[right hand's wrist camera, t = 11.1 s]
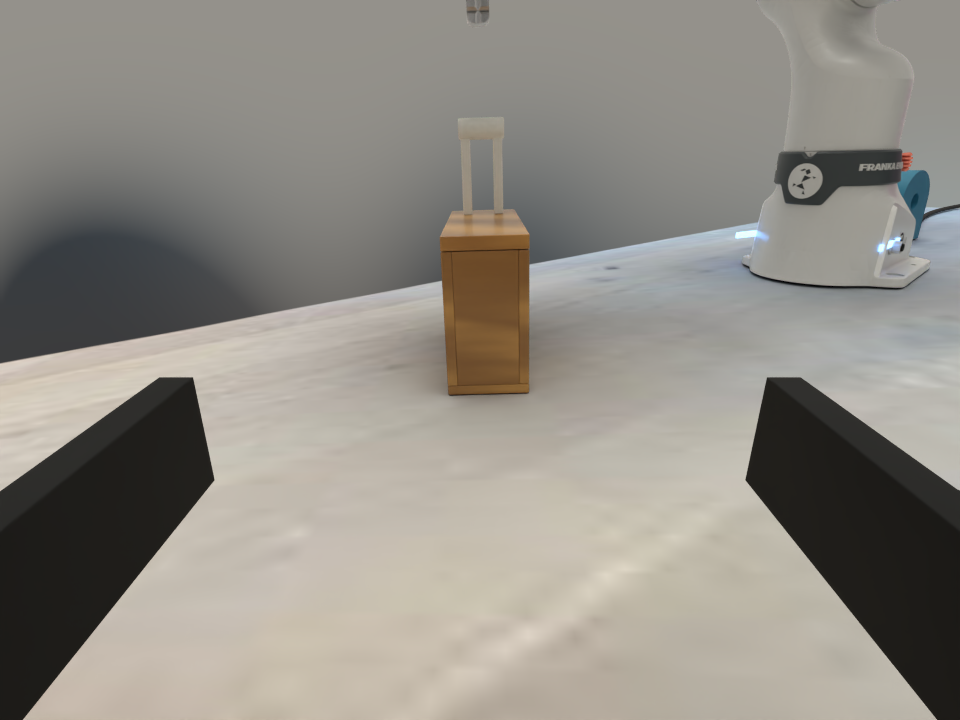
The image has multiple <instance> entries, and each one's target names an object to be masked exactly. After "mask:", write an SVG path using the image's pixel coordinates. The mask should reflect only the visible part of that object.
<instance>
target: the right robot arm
mask: <svg viewBox="0 0 960 720" xmlns="http://www.w3.org/2000/svg"><path fill="white" fill-rule="evenodd" d="M213 481H214V475H213V470H212V466H211V461H210V456H209V451H208V447H207V442H206V437H205V432H204V428H203V423H202V418H201V413H200V409H199V404H198V399H197V394H196V390H195V385H194V380H193V378H158V379H157V380H155V381H154V382H152V383H151V384H150V385H148V386H147V387H145V388H144V389H143V390H141V391H140V392H138V393H137V394H136V395H134V396H133V397H131V398H130V399H129V400H127V401H126V402H124V403H123V404H122V405H120V406H119V407H118V408H116V409H115V410H113V411H112V412H111V413H109V414H108V415H106V416H105V417H104V418H102V419H101V420H99V421H98V422H97V423H95V424H94V425H92V426H91V427H90V428H88V429H87V430H85V431H84V432H83V433H81V434H80V435H78V436H77V437H76V438H74V439H73V440H71V441H70V442H69V443H67V444H66V445H64V446H63V447H62V448H60V449H59V450H57V451H56V452H55V453H53V454H52V455H50V456H49V457H48V458H46V459H45V460H43V461H42V462H41V463H39V464H38V465H36V466H35V467H34V468H32V469H31V470H29V471H28V472H27V473H25V474H24V475H22V476H21V477H20V478H18V479H17V480H15V481H14V482H13V483H11V484H10V485H8V486H7V487H6V488H4V489H3V490H1V491H0V720H23V719H24V718H25V716H26V715H27V714H28V713H29V711H30V710H31V709H32V708H33V706H34V705H35V704H36V703H37V701H38V700H39V699H40V698H41V696H42V695H43V694H44V693H45V691H46V690H47V689H48V688H49V686H50V685H51V684H52V683H53V681H54V680H55V679H56V678H57V676H58V675H59V674H60V673H61V671H62V670H63V669H64V668H65V666H66V665H67V664H68V663H69V661H70V660H71V659H72V658H73V656H74V655H75V654H76V653H77V651H78V650H79V649H80V648H81V646H82V645H83V644H84V643H85V641H86V640H87V639H88V638H89V636H90V635H91V634H92V633H93V631H94V630H95V629H96V628H97V626H98V625H99V624H100V623H101V621H102V620H103V619H104V618H105V616H106V615H107V614H108V613H109V611H110V610H111V609H112V608H113V606H114V605H115V604H116V603H117V601H118V600H119V599H120V598H121V596H122V595H123V594H124V593H125V591H126V590H127V589H128V588H129V586H130V585H131V584H132V583H133V581H134V580H135V579H136V578H137V576H138V575H139V574H140V573H141V571H142V570H143V569H144V568H145V566H146V565H147V564H148V563H149V561H150V560H151V559H152V558H153V556H154V555H155V554H156V553H157V551H158V550H159V549H160V548H161V546H162V545H163V544H164V543H165V541H166V540H167V539H168V538H169V536H170V535H171V534H172V533H173V531H174V530H175V529H176V528H177V526H178V525H179V524H180V523H181V521H182V520H183V519H184V518H185V516H186V515H187V514H188V513H189V511H190V510H191V509H192V508H193V506H194V505H195V504H196V503H197V501H198V500H199V499H200V498H201V496H202V495H203V494H204V493H205V491H206V490H207V489H208V488H209V486H210V485H211V484H212V483H213ZM746 481H747V483H748V484H749V485H750V486H751V488H752V489H753V490H754V491H755V493H756V494H757V495H758V496H759V498H760V499H761V500H762V501H763V503H764V504H765V505H766V506H767V508H768V509H769V510H770V511H771V513H772V514H773V515H774V516H775V518H776V519H777V520H778V521H779V523H780V524H781V525H782V526H783V528H784V529H785V530H786V531H787V533H788V534H789V535H790V536H791V538H792V539H793V540H794V541H795V543H796V544H797V545H798V546H799V548H800V549H801V550H802V551H803V553H804V554H805V555H806V556H807V558H808V559H809V560H810V561H811V563H812V564H813V565H814V566H815V568H816V569H817V570H818V571H819V573H820V574H821V575H822V576H823V578H824V579H825V580H826V581H827V583H828V584H829V585H830V586H831V588H832V589H833V590H834V591H835V593H836V594H837V595H838V596H839V598H840V599H841V600H842V601H843V603H844V604H845V605H846V606H847V608H848V609H849V610H850V611H851V613H852V614H853V615H854V616H855V618H856V619H857V620H858V621H859V623H860V624H861V625H862V626H863V628H864V629H865V630H866V631H867V633H868V634H869V635H870V636H871V638H872V639H873V640H874V641H875V643H876V644H877V645H878V646H879V648H880V649H881V650H882V651H883V653H884V654H885V655H886V656H887V658H888V659H889V660H890V661H891V663H892V664H893V665H894V666H895V668H896V669H897V670H898V671H899V673H900V674H901V675H902V676H903V678H904V679H905V680H906V681H907V683H908V684H909V685H910V686H911V688H912V689H913V690H914V691H915V693H916V694H917V695H918V696H919V698H920V699H921V700H922V701H923V703H924V704H925V705H926V706H927V708H928V709H929V710H930V711H931V713H932V714H933V715H934V716H935V718H936V719H937V720H960V490H957V489H956V488H954V487H953V486H952V485H950V484H949V483H947V482H946V481H945V480H943V479H942V478H940V477H939V476H938V475H936V474H935V473H933V472H932V471H931V470H929V469H928V468H926V467H925V466H924V465H922V464H921V463H919V462H918V461H917V460H915V459H914V458H912V457H911V456H910V455H908V454H907V453H905V452H904V451H903V450H901V449H900V448H898V447H897V446H896V445H894V444H893V443H891V442H890V441H889V440H887V439H886V438H884V437H883V436H882V435H880V434H879V433H877V432H876V431H875V430H873V429H872V428H870V427H869V426H868V425H866V424H865V423H863V422H862V421H861V420H859V419H858V418H856V417H855V416H854V415H852V414H851V413H849V412H848V411H847V410H845V409H844V408H842V407H841V406H840V405H838V404H837V403H836V402H834V401H833V400H831V399H830V398H829V397H827V396H826V395H824V394H823V393H822V392H820V391H819V390H817V389H816V388H815V387H813V386H812V385H810V384H809V383H808V382H806V381H805V380H803V379H802V378H767V380H766V385H765V390H764V394H763V399H762V404H761V409H760V413H759V418H758V423H757V428H756V432H755V437H754V442H753V447H752V451H751V456H750V461H749V466H748V470H747V475H746Z"/></svg>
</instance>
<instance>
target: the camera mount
mask: <svg viewBox="0 0 960 720" xmlns="http://www.w3.org/2000/svg"><path fill="white" fill-rule="evenodd" d="M897 185H898V189H899V192H900V194H901V196H902V197H903V199H904V201H905V203H906V204H907V206H908V208H909V210H910V211H911V213H912V215H913V216H914V218H915V220H916V225H915V231H914V236H913V239H916V238H918V234H919V231H920V227H921V223H922V219H923V215H924V211H925V207H926V203H927V199H928V195H929V187H930V181H929V176H928V174H927V172H926V171H924V170H907V171H901V181H900V182H899V183H897Z"/></svg>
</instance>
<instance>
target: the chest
mask: <svg viewBox="0 0 960 720" xmlns="http://www.w3.org/2000/svg"><path fill="white" fill-rule="evenodd" d="M441 268H442V287H443V305H444V323H445V341H446V359H447V377H448V394H449V395H455V394H492V393H528V392H529V249H505V250H471V251H441Z"/></svg>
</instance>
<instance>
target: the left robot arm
mask: <svg viewBox="0 0 960 720" xmlns="http://www.w3.org/2000/svg"><path fill="white" fill-rule="evenodd" d="M756 1H757V4H758V6H759V8H760V9H761V11H762V13H763V14H764V15H765V16H766V17H767V18H769V19H770V20H771V21H772V22H773V23H774V24H775V25H776V26H777V27H778V29H779V30H780V32H781V33H782V36H783V38H784V40H785V43H786V46H787V50H788V53H789V58H790V64H791V74H792V86H791V98H790V107H789V115H788V123H787V130H786V137H785V144H784V151H788V152H781V153H780V154H779V156H778V161H777V164H776V167H775V170H776V172H775V179H774V182H775V183H776V184H777V187H776V189H775V191H774V192H773V194H772V195H771V196H770V197H769V198H768V199H767V200H766V201H765V202H764V203H763V206H762V210H761V214H760V218H759V222H758V226H757V230H756V231H746V232H737V233H736V238H744V237H753V236H755V239H754V243H753V247H752V252H751V255H745V256H744V257H743V261H742V263H743V264H745V265H747V266H749V267H750V271H751V272H753V273H755V274H757V275H760V276H764V277H767V278H772V279H776V280H782V281H788V282H795V283H803V284H814V285H828V286H875V287H892V288H901V287H905V286H906V285H908V284H909V283H910V282H912V281H913V280H914V279H916V278H917V277H918V276H920V275H921V274H922V273H924V272H925V271H926V270H928V269H929V268H930V260H927V259H923V258H918V257H913V256H909V253H910V249H911V245H912V240H913V236H914V231H915V225H916V220H915V218H914V216H913V215H912V213H911V211H910V210H909V208H908V206H907V204H906V203H905V201H904V199H903V197H902V196H901V194H900V192H899V189H898V185H897V183H899V182H900V181H901V171H907V170H909V168H908V167H910V166H911V165H909V164H910V163H912V161H910V160H911V159H913V157H911V155H912V153H902V150H901V149H892V148H899V144H900V140H901V136H902V131H903V127H904V123H905V118H906V114H907V110H908V105H909V101H910V97H911V92H912V88H913V84H914V71H913V68H912V66H911V64H910V62H909V61H908V59H907V58H906V57H905V56H904V55H902V54H901V53H899V52H898V51H896V50H894V49H892V48H890V47H887V46H885V45H882V44H881V43H880V42H879V39H878V37H877V33H876V12H877V8H878V6H879V5H882V4H886V3H890V2H895V1H899V0H756ZM466 6H467V23H468V25H469V26H471V27H485V26H486V25H488V22H489V0H466ZM955 208H960V204H958V205H953V206H948V207H944V208H939V209H936V210H933V211H930V212H927V213H925V214H924V215H923V219H924V218H926V217H927V216H929V215H932V214H935V213H938V212H941V211H945V210H950V209H955ZM923 219H922V220H923Z"/></svg>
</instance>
